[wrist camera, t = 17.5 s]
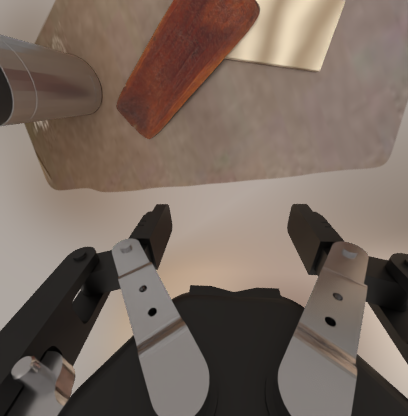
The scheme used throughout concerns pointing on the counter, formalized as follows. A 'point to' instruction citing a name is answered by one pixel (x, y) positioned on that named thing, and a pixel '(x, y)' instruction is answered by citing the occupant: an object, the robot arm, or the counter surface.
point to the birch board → (290, 34)
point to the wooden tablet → (182, 58)
